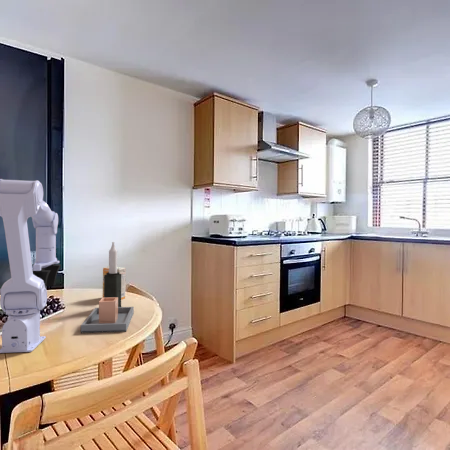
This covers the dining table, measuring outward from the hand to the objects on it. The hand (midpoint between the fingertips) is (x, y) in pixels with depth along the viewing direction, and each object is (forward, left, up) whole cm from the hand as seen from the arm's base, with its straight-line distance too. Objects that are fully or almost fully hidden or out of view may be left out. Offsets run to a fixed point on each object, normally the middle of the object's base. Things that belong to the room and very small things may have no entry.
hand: (45, 288), depth 106 cm
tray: (-4, -21, -10) cm, 24 cm away
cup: (-4, -21, -10) cm, 23 cm away
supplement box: (+26, -17, -11) cm, 33 cm away
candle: (+12, -19, -11) cm, 25 cm away
